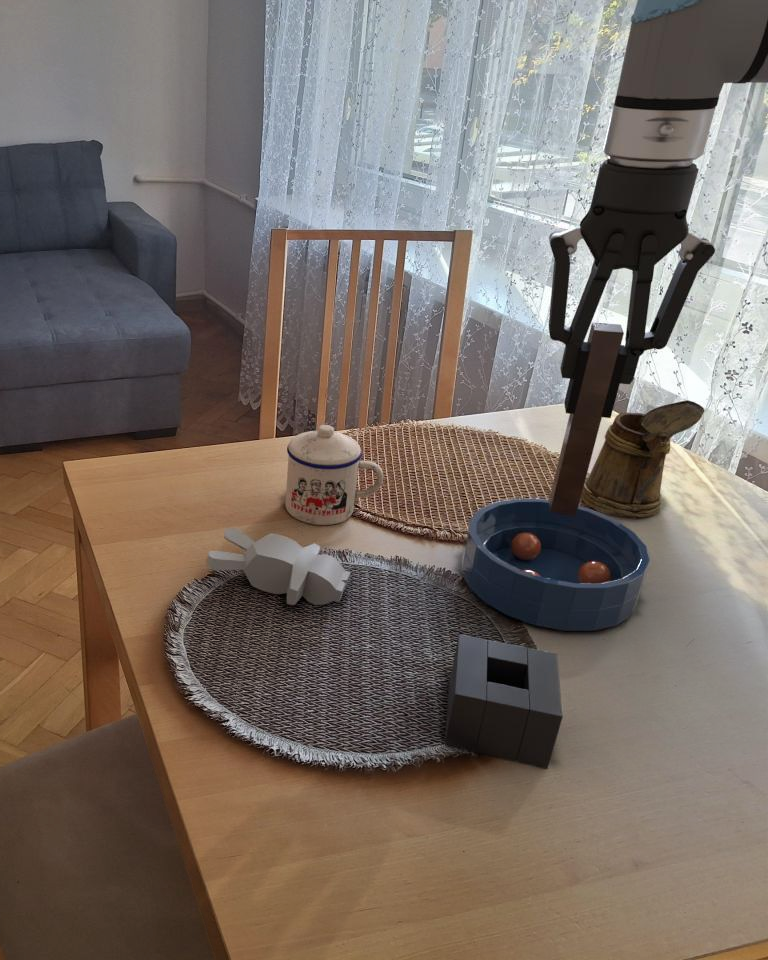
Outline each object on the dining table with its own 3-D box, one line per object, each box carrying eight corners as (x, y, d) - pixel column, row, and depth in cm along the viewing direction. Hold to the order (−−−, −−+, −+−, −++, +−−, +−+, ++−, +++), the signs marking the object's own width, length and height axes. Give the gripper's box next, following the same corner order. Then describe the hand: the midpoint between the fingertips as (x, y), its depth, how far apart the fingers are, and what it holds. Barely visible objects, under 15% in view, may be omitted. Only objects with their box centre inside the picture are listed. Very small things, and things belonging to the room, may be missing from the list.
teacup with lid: (280, 523, 108) (285, 440, 102) (285, 488, 116) (291, 410, 110) (379, 533, 105) (390, 448, 100) (377, 496, 113) (388, 416, 108)
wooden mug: (605, 537, 103) (644, 400, 94) (570, 482, 115) (602, 355, 106) (685, 541, 102) (732, 402, 93) (642, 485, 113) (680, 357, 105)
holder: (543, 703, 79) (557, 653, 76) (547, 769, 73) (562, 716, 70) (449, 683, 82) (458, 634, 79) (444, 745, 75) (454, 693, 72)
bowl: (624, 556, 99) (637, 511, 97) (645, 650, 85) (661, 602, 82) (463, 531, 105) (471, 488, 102) (457, 616, 91) (466, 569, 88)
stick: (574, 505, 91) (621, 324, 81) (575, 517, 89) (624, 332, 79) (548, 501, 92) (591, 322, 82) (549, 513, 90) (594, 330, 80)
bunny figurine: (338, 594, 88) (203, 548, 93) (328, 631, 91) (198, 585, 96) (359, 547, 96) (233, 507, 101) (349, 583, 98) (227, 542, 103)
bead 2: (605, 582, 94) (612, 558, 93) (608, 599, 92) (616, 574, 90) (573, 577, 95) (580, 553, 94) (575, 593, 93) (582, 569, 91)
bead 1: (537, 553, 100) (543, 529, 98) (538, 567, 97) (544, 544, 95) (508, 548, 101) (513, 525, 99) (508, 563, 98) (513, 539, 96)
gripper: (552, 164, 73) (502, 415, 84) (767, 170, 68) (683, 436, 79) (548, 151, 79) (502, 387, 91) (745, 155, 74) (670, 404, 86)
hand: (586, 409), depth 85 cm, fingers closed on stick, 2 cm apart
